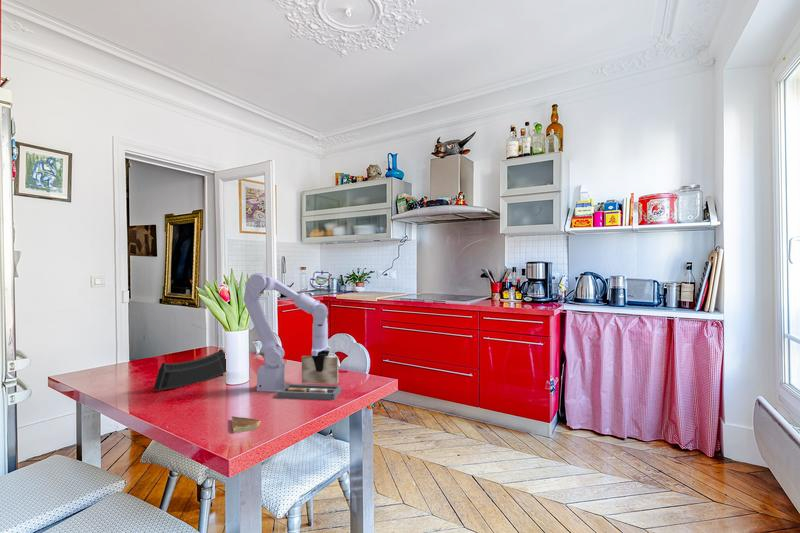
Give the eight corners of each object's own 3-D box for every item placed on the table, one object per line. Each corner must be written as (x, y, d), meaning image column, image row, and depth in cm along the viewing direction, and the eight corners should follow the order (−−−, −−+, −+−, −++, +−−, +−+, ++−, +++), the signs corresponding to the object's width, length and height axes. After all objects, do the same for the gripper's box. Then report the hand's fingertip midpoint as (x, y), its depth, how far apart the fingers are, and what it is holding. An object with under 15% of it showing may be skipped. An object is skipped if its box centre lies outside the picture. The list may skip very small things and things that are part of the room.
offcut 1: (288, 396, 133) (288, 389, 133) (290, 394, 135) (290, 387, 135) (304, 397, 133) (304, 389, 133) (306, 395, 135) (306, 388, 135)
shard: (231, 421, 114) (231, 415, 114) (258, 417, 118) (258, 411, 118) (232, 435, 105) (232, 428, 105) (261, 430, 108) (261, 424, 108)
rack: (277, 399, 132) (277, 392, 132) (288, 390, 142) (288, 383, 142) (333, 401, 130) (333, 394, 130) (341, 392, 140) (341, 385, 140)
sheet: (301, 382, 147) (301, 356, 147) (303, 381, 148) (303, 355, 148) (337, 383, 145) (337, 357, 145) (338, 382, 147) (338, 356, 147)
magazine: (151, 370, 137) (223, 334, 162) (146, 369, 138) (218, 333, 163) (165, 412, 141) (233, 370, 166) (160, 410, 142) (228, 369, 167)
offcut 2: (308, 397, 133) (308, 390, 133) (310, 395, 135) (310, 388, 135) (325, 397, 132) (325, 390, 132) (327, 395, 134) (327, 388, 134)
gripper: (324, 338, 139) (324, 376, 139) (335, 332, 154) (335, 366, 154) (305, 338, 140) (305, 375, 140) (318, 332, 154) (318, 365, 154)
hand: (320, 370), depth 147 cm, fingers closed on sheet, 1 cm apart
